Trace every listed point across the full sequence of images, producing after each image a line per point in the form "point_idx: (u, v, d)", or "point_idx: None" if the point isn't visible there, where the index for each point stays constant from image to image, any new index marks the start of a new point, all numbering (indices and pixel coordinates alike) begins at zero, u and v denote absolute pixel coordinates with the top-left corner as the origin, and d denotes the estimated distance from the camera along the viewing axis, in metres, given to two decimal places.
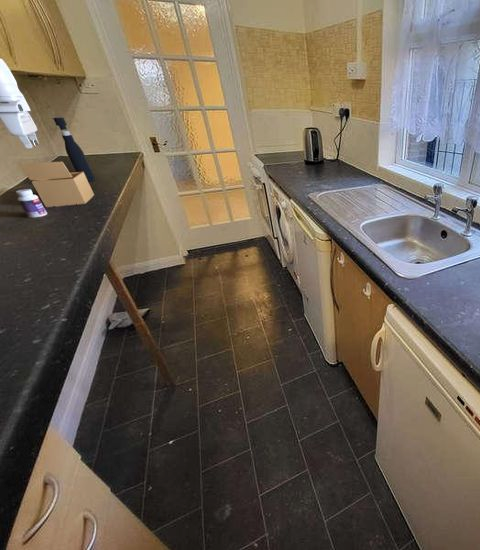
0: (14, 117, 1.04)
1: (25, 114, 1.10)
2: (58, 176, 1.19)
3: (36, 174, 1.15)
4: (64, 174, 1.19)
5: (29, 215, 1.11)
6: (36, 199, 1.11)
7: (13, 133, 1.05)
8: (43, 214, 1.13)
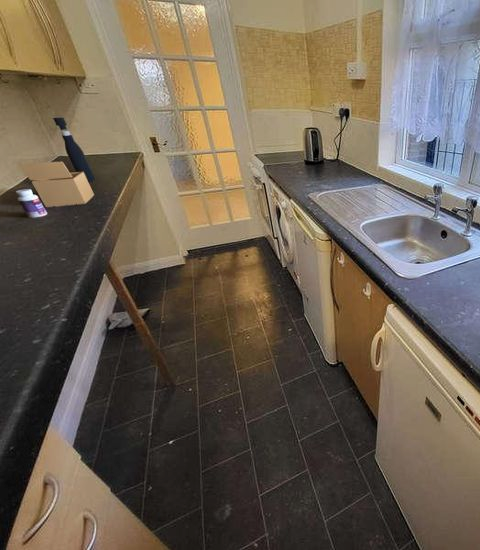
0: None
1: None
2: (58, 176, 1.19)
3: (36, 174, 1.15)
4: (64, 174, 1.19)
5: (29, 215, 1.11)
6: (36, 199, 1.11)
7: None
8: (43, 214, 1.13)
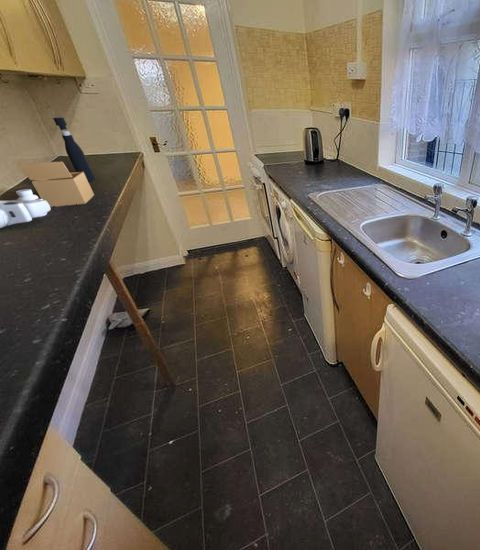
0: (33, 206, 1.03)
1: None
2: (58, 176, 1.19)
3: (36, 174, 1.15)
4: (64, 174, 1.19)
5: None
6: None
7: (50, 208, 1.09)
8: (43, 214, 1.13)
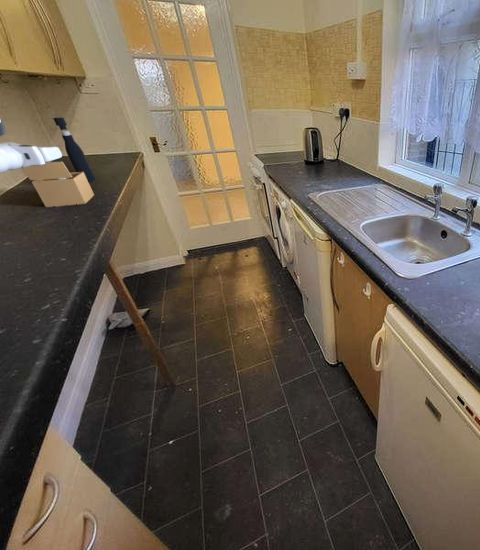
0: (46, 150, 1.10)
1: None
2: (58, 176, 1.19)
3: (36, 174, 1.15)
4: (64, 174, 1.19)
5: None
6: None
7: (61, 154, 1.15)
8: None
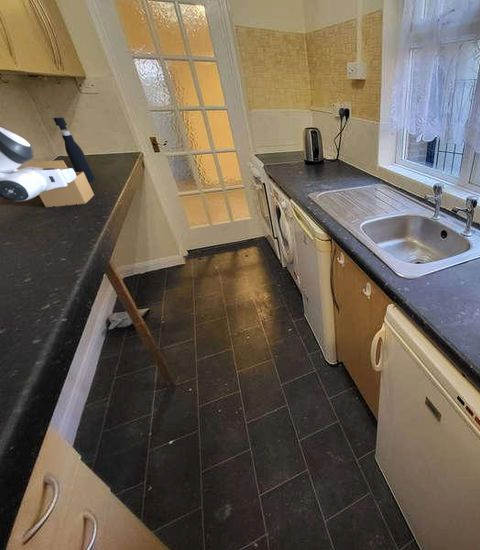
0: (67, 172, 1.11)
1: None
2: None
3: None
4: None
5: None
6: None
7: None
8: None
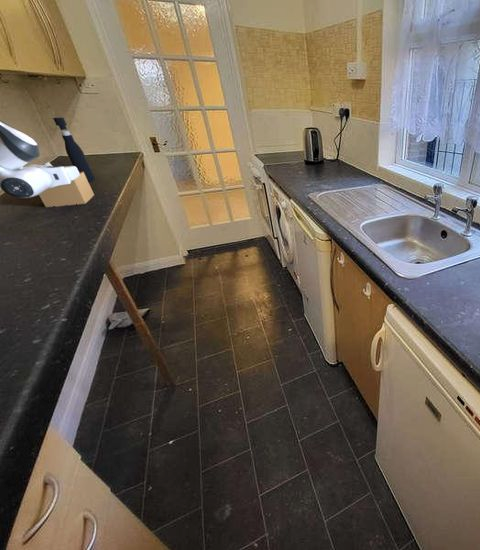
0: (70, 170, 1.14)
1: None
2: None
3: None
4: None
5: None
6: None
7: None
8: None
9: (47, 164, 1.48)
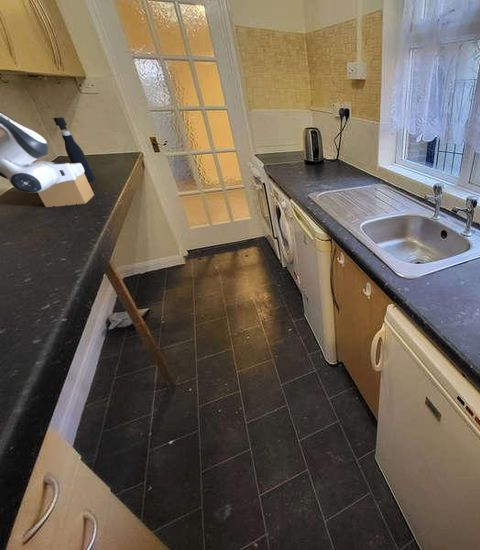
0: (76, 166, 1.20)
1: None
2: None
3: None
4: None
5: None
6: None
7: None
8: None
9: None
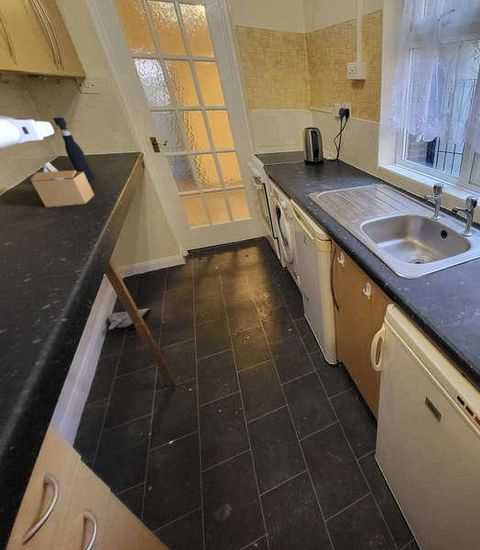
0: (42, 125, 1.02)
1: None
2: (60, 176, 1.20)
3: (42, 176, 1.19)
4: (67, 175, 1.21)
5: None
6: None
7: (53, 130, 1.08)
8: None
9: (47, 164, 1.48)
